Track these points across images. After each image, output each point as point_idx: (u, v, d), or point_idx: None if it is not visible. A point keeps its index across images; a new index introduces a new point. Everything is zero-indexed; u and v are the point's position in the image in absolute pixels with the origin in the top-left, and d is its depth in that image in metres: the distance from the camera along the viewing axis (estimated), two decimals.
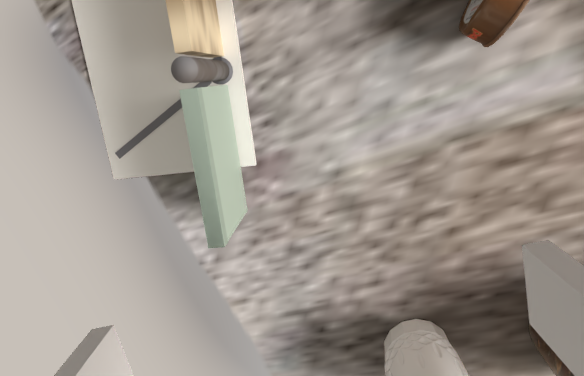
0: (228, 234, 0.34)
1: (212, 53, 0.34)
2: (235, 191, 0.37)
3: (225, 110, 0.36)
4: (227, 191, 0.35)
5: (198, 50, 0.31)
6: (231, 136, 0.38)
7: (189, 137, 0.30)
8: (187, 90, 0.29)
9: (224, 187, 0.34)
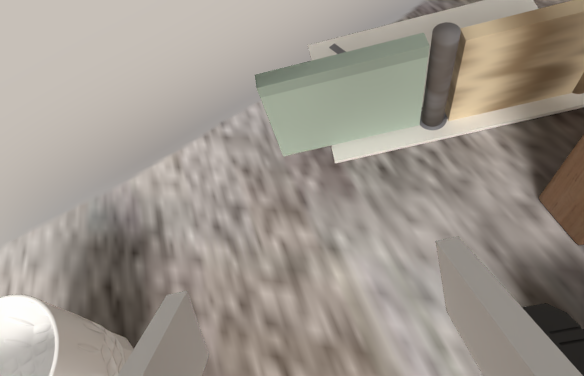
0: (267, 101, 0.31)
1: (455, 92, 0.33)
2: (309, 127, 0.34)
3: (395, 115, 0.34)
4: (313, 106, 0.32)
5: (463, 58, 0.30)
6: (366, 126, 0.35)
7: (375, 46, 0.29)
8: (425, 38, 0.28)
9: (318, 98, 0.31)
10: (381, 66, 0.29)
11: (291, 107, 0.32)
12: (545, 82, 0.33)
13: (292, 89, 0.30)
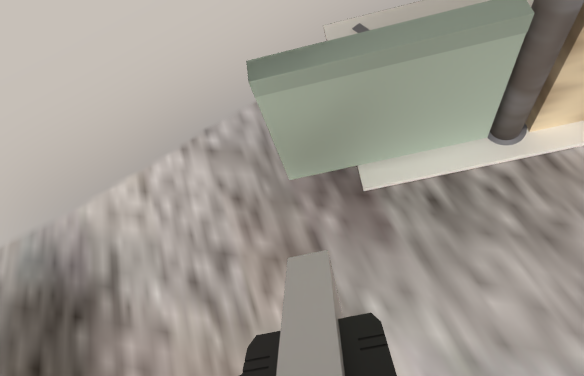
0: (266, 103, 0.20)
1: (551, 90, 0.22)
2: (328, 141, 0.23)
3: (455, 123, 0.23)
4: (336, 111, 0.21)
5: (580, 36, 0.19)
6: (412, 139, 0.24)
7: (441, 15, 0.18)
8: (525, 2, 0.17)
9: (345, 99, 0.20)
10: (450, 48, 0.18)
11: (303, 112, 0.21)
12: None
13: (305, 84, 0.19)
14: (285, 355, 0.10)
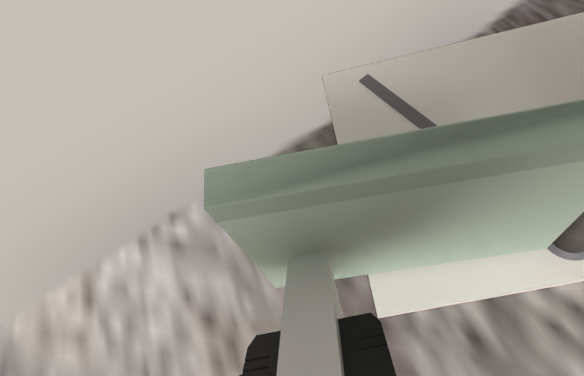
0: (235, 226, 0.13)
1: None
2: None
3: (507, 238, 0.16)
4: (339, 231, 0.14)
5: None
6: (444, 252, 0.17)
7: (511, 117, 0.11)
8: None
9: (353, 220, 0.14)
10: (522, 168, 0.11)
11: (291, 233, 0.14)
12: None
13: (293, 208, 0.12)
14: (285, 355, 0.10)
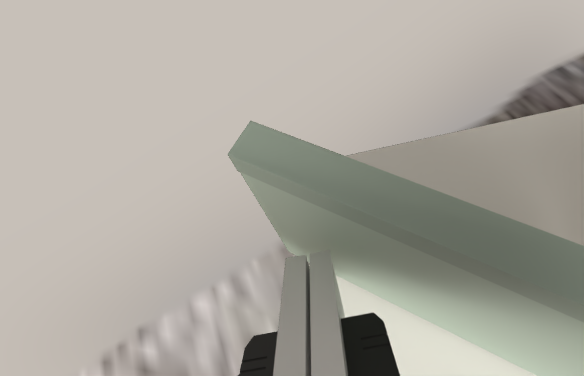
0: (254, 183, 0.14)
1: None
2: (334, 256, 0.16)
3: (517, 351, 0.15)
4: (345, 242, 0.14)
5: None
6: (447, 321, 0.16)
7: (559, 242, 0.09)
8: None
9: (358, 240, 0.13)
10: (537, 299, 0.10)
11: (301, 217, 0.14)
12: None
13: (303, 198, 0.12)
14: (282, 355, 0.10)
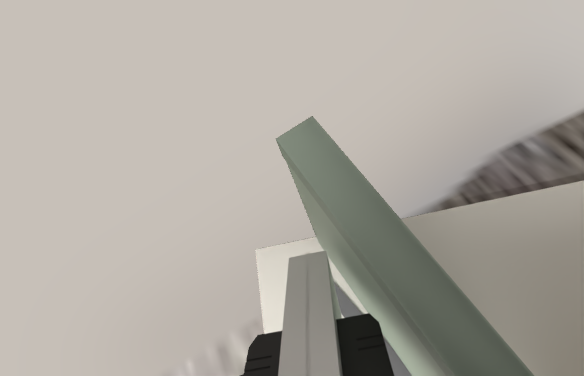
0: (294, 173, 0.14)
1: None
2: (347, 271, 0.16)
3: None
4: (353, 267, 0.14)
5: None
6: None
7: None
8: None
9: (362, 273, 0.13)
10: None
11: (325, 224, 0.14)
12: None
13: (324, 211, 0.12)
14: (287, 354, 0.10)
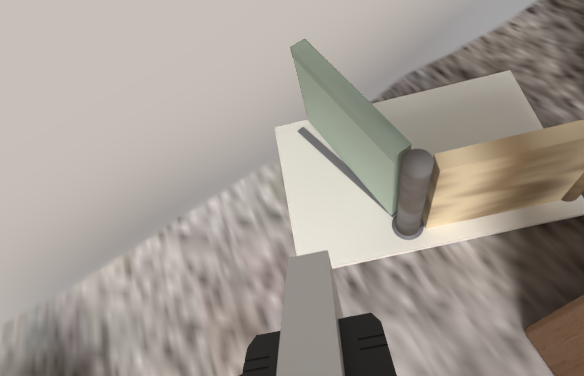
0: (297, 65, 0.32)
1: (431, 208, 0.29)
2: (321, 118, 0.35)
3: (374, 183, 0.32)
4: (322, 105, 0.32)
5: (438, 183, 0.26)
6: (356, 166, 0.34)
7: (375, 110, 0.27)
8: (402, 147, 0.25)
9: (325, 102, 0.31)
10: (362, 128, 0.28)
11: (310, 88, 0.33)
12: (530, 194, 0.30)
13: (309, 74, 0.31)
14: (285, 355, 0.10)
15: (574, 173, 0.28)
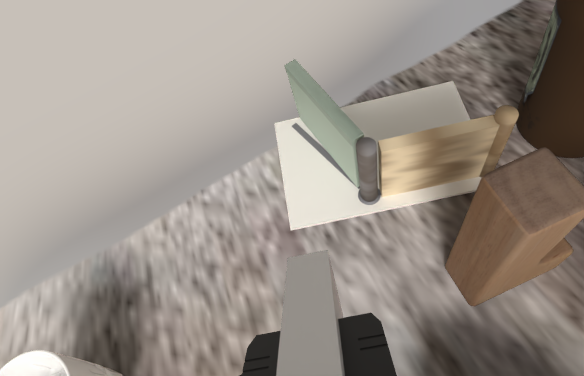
0: (289, 78, 0.45)
1: (382, 180, 0.42)
2: (308, 116, 0.47)
3: (344, 163, 0.45)
4: (307, 106, 0.45)
5: (382, 161, 0.38)
6: (332, 152, 0.46)
7: (340, 111, 0.39)
8: (357, 136, 0.38)
9: (309, 105, 0.44)
10: (332, 123, 0.40)
11: (299, 94, 0.45)
12: (454, 171, 0.42)
13: (298, 85, 0.43)
14: (285, 355, 0.10)
15: (480, 156, 0.40)
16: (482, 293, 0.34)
